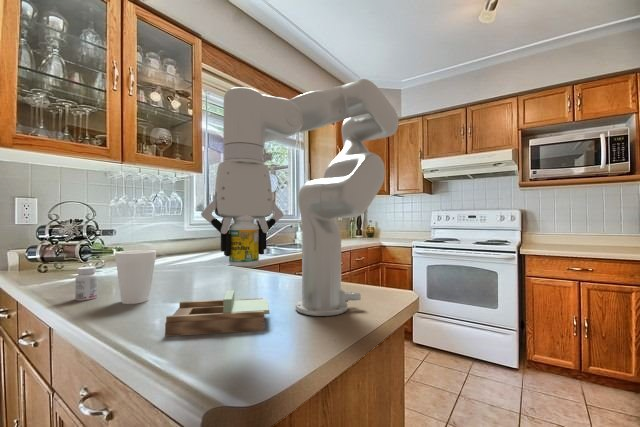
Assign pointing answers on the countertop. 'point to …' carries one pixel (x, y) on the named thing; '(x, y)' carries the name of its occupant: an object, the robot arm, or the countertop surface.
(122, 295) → the foam cup
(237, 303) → the cover
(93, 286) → the pill bottle
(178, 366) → the countertop surface
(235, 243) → the supplement bottle
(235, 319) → the wooden tray
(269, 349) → the countertop surface
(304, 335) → the countertop surface
